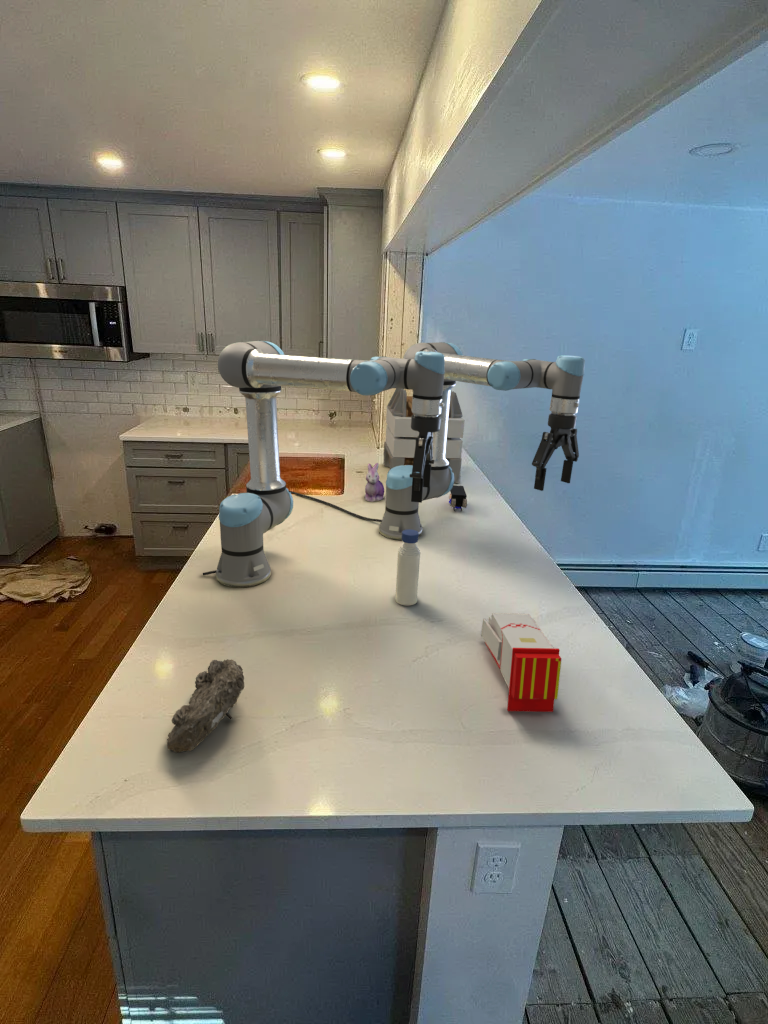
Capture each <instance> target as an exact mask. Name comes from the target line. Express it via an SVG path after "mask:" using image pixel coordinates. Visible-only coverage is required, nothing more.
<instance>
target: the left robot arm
mask: <svg viewBox="0 0 768 1024" xmlns="http://www.w3.org/2000/svg"><path fill="white" fill-rule="evenodd" d="M217 369H218V373H219V375H220V377H221V378H222V379H223V381H224V382H225V383H227V384H228V385H230V386H231V387H233V388H238V390H239V393H240V394H241V395H242V396H244V398H245V411H246V413H245V414H246V429H247V442H248V443H247V444H248V456H249V472H250V479H249V481H248V482H246V483H245V485H246V486H245V490H246V491H245V492H240V493H239V492H238V494H231V495H229V496H227V497H225V498H224V499H223V500H222V501H221V502H220V504H219V509H218V510H219V512H218V520H219V534H220V547H221V549H220V550H221V552H220V556H219V560H218V564H217V567H216V570H210V571H204V572H202V576H208V575H213V574H215V576H216V580H217V581H218V583H220V584H221V585H224V586H227V587H233V588H247V587H255V586H258V585H261V584H264V583H265V582H266V581H268V580H269V579H270V577H271V575H272V574H271V573H272V572H271V566H270V563H269V560H268V558H267V555H266V553H265V550H264V534H265V533H267V532H269V531H270V530H271V529H273V528H275V527H276V526H279V525H281V524H282V523H284V522H285V521H286V520H287V519H288V518H289V517H290V516H291V514H292V512H293V509H294V498H293V494H291V493H290V492H289V491H290V490H289V488H288V487H287V482H286V481H285V480H284V479H282V478H281V466H280V465H281V464H280V463H281V462H280V448H279V445H280V444H279V424H278V406H277V405H278V403H277V397H278V396H279V395H280V393H281V392H282V387H288V388H289V387H290V388H291V387H292V388H303V389H315V390H325V391H337V392H352V393H357V394H359V395H361V396H365V397H366V396H376V395H378V394H380V393H382V392H385V391H389V390H391V389H396V388H397V389H404V390H411V391H412V396H413V397H412V413H413V415H412V416H411V429H412V430H414V431H418V432H419V436H418V438H416V446H415V454H414V461H413V468H412V474H410V477H411V478H413V480H412V495H411V502H419V504H420V503H421V504H422V502H423V501H422V494H423V487H428V488H429V487H430V476H431V464H434V460H432V459H433V432H437V431H439V430H440V423H441V417H440V416H438V415H440V414H441V407H443V406H444V403H441V401H442V394H443V384H444V374H445V357H444V355H443V354H442V353H439V352H426V351H420V352H417V353H416V354H415V358H414V359H403V358H402V357H401V358H399V357H391V356H390V357H388V356H372V357H370V359H369V360H365V359H348V358H334V357H333V358H332V357H319V356H305V355H304V356H303V355H289V354H285V352H284V351H283V350H282V349H281V348H280V346H279V345H277V344H275V343H273V342H271V341H268V340H253V341H252V340H251V341H243V342H242V341H240V342H238V341H237V342H233V343H230V344H228V345H227V346H225V347H224V348H223V349H222V350H221V351H220V353H219V356H218V359H217ZM416 472H419V473H416ZM288 490H289V491H288Z"/></svg>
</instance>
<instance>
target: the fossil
mask: <svg viewBox="0 0 768 1024" xmlns="http://www.w3.org/2000/svg"><path fill="white" fill-rule="evenodd" d="M243 670H244V669H243V667H242V665H240V664H237V662H236V661H235V660H234V659H232V658H231V659H227V658H226V659H224V660H223V661H222V660H217V659H212V660H211V661H210V663H209V665H208V666H207V671H201V672H199V673H198V674H197V675H196V676H195V680H194V684H195V685H194V687H195V689H194V690H193V693H192V694H191V697H190V698H189V700H188V704H184V705H182V706H181V707H180V709H177V710H176V711H175V713H174V715H173V716H172V718H171V723H172V724H173V727H172V730H171V731H170V732H168V734H167V738H166V741H167V742H166V745H167V749H168V750H169V751H173V752H174V753H176V754H178V753H182V752H188V751H189V752H192V751H193V750H195V748H196V747H197V746H199V744H200V743H201V742H203V741H204V740H205V739H206V738H207V737H208V736H209V735H210V734H211V733H212V732H214V730H215V729H217V727H218V726H219V724H220V722H221V721H222V720H223V719H224V718H225V716H226V717H227V719H229V720H233V717H232V715H230V714H229V710H230V709H231V708H234V706H235V704H236V703H237V702H238V699H239V697H240V695H241V693H242V691H243V690H245V689H244V688H245V675H244V671H243Z"/></svg>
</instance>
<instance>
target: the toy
mask: <svg viewBox="0 0 768 1024" xmlns="http://www.w3.org/2000/svg"><path fill="white" fill-rule="evenodd" d="M480 637H481V639H482V640H483V641H484V644H485V646H486V647H487V649H488V651H489V653H490V654H491V656H492V658H493V661H494V662H495V664H496V666H497V667H498V669H499V670H500V673H501V675H502V677H503V680H504V681H505V683H506V686H507V687H508V697H507V698H508V699H507V712H528V713H529V712H533V713H534V712H536V713H553V712H554V707H555V700H558V696H559V687H560V679H561V678H560V676H561V667H562V657H561V655H560V651H561V650H560V648H555V647H554V646H553V644H551V642H550V641H549V639H548V638H547V636H546V635H545V634H544V632H543V631H542V630H541V628H540V627H539V625H538V624H537V622H536V621H535V619H534V618H533V617H532V616H531V614H530V613H513V612H510V613H509V612H491V615H488V620H487V619H486V618H482V624H481V633H480Z"/></svg>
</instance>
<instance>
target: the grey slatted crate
mask: <svg viewBox="0 0 768 1024" xmlns="http://www.w3.org/2000/svg"><path fill="white" fill-rule="evenodd" d="M407 394H408V393H407V389H397V388H395V390H394V392H393V394H392V395H391V398H390V400H389V402H388V404H387V405H386V413H385V414H386V415H385V423H386V428H385V438H384V442H383V466H384V467H388V468H389V470H390V469H392V468H394V467H396V466H401V465H404V466H405V465H413V461H414V454H415V446H416V438H418V436H419V432H418V431H414V430H412V429H411V416H412V415H413V413H412V397H413V395H412V396H411V395H407ZM464 429H465V419H464V418H463V411H462V408H461V405H460V402H459V398H458V395H457V392H455V391H453V390H451V392H450V404H449V416H448V428H447V441H446V453H445V458H446V459H447V461H448V462H449V466H450V467H451V469H452V473H454V484H455V483H456V484H459V483H461V472H462V461H463V460H462V453H463V442H464V441H463V440H462V439H463V438H464V431H465V430H464Z"/></svg>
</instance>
